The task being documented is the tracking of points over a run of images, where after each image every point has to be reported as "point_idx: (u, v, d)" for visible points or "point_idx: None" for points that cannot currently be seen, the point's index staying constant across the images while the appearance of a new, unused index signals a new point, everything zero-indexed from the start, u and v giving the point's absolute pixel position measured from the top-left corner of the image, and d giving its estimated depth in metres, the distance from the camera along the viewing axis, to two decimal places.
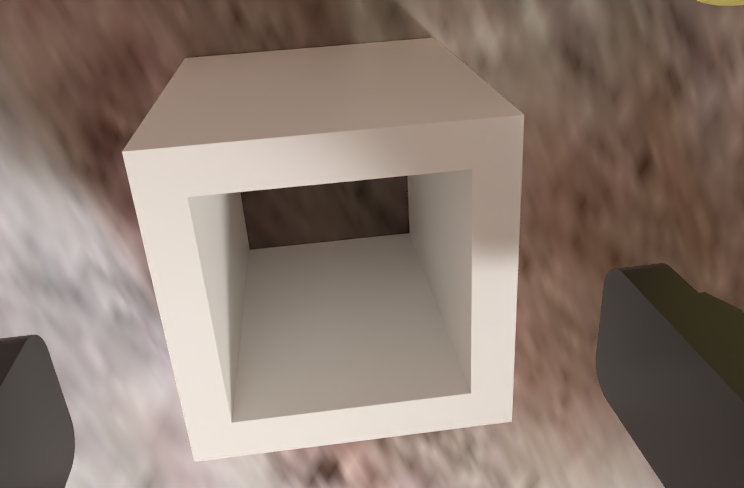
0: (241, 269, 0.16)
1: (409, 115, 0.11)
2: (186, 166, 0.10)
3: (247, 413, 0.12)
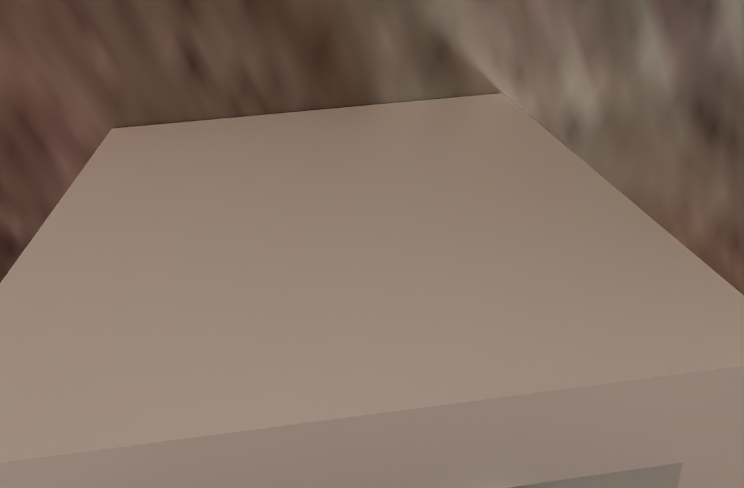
0: None
1: (542, 343, 0.05)
2: None
3: None
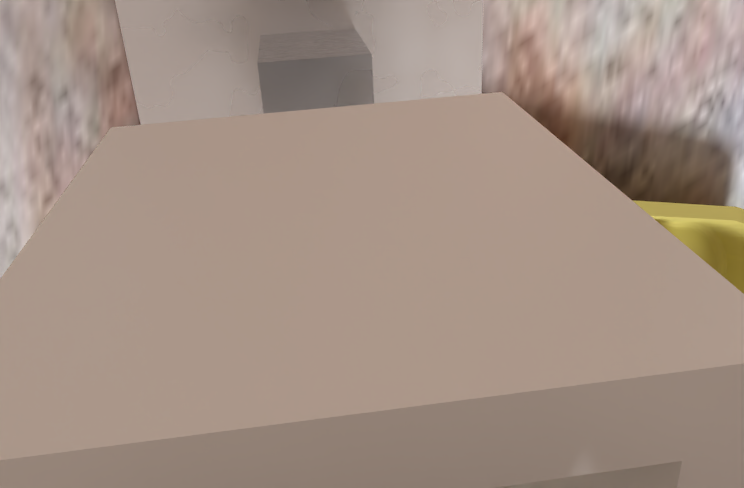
0: None
1: (542, 342, 0.05)
2: None
3: None
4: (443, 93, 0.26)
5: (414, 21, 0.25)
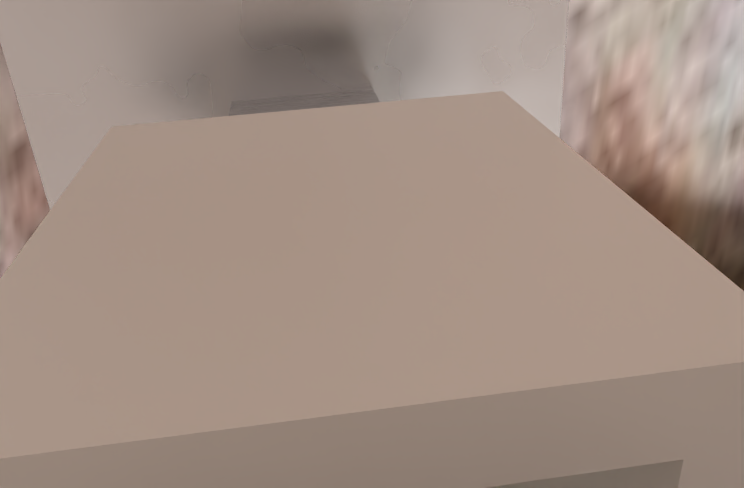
0: None
1: (544, 339, 0.05)
2: None
3: None
4: None
5: (462, 78, 0.17)
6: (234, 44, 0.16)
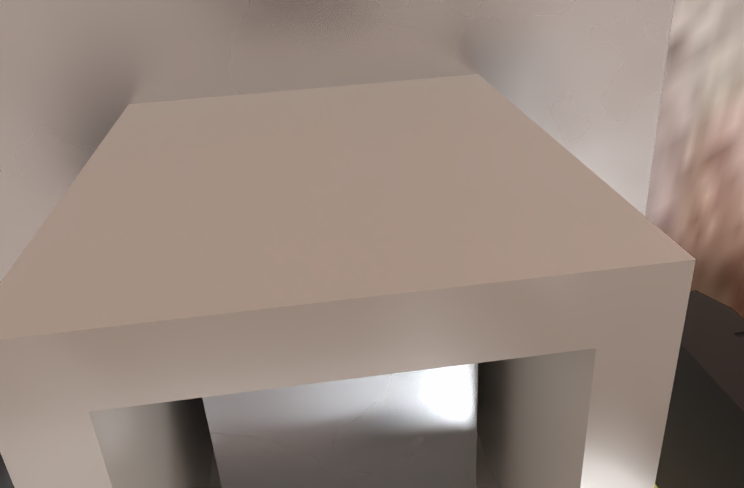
0: None
1: (485, 254, 0.06)
2: (81, 363, 0.05)
3: None
4: None
5: None
6: (221, 93, 0.12)
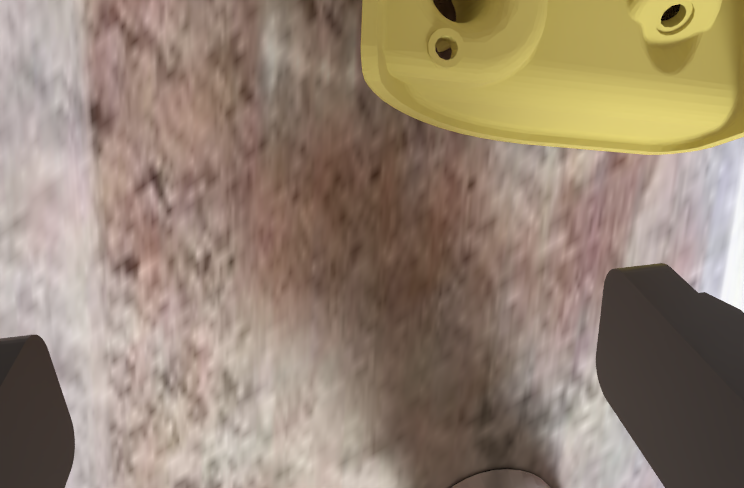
0: None
1: None
2: None
3: None
4: None
5: None
6: None
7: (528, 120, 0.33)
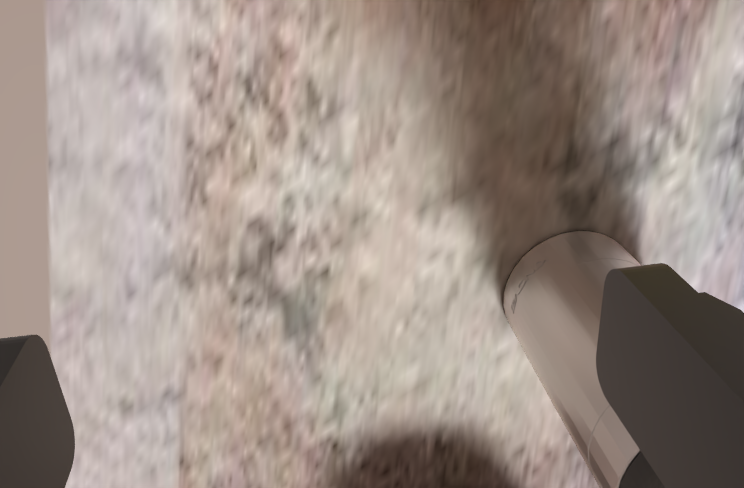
0: None
1: None
2: None
3: None
4: None
5: None
6: None
7: None
